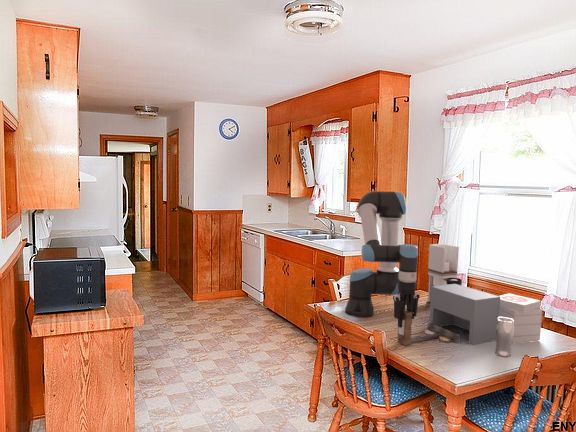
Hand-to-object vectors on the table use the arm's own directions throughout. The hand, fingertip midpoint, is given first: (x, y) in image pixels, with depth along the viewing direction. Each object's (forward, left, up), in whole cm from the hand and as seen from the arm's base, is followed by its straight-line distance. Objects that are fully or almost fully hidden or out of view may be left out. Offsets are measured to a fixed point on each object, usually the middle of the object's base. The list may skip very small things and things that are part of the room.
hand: (404, 333), depth 199 cm
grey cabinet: (0, +35, -5) cm, 36 cm away
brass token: (+4, +20, -5) cm, 21 cm away
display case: (-37, +59, -5) cm, 70 cm away
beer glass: (+26, +30, -5) cm, 40 cm away
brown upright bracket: (0, +11, -4) cm, 12 cm away
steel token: (-4, +20, -5) cm, 21 cm away
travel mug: (-21, +51, -5) cm, 56 cm away
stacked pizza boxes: (+8, +55, -5) cm, 56 cm away
